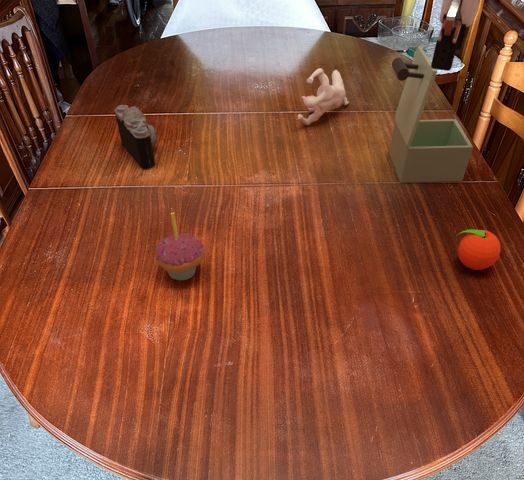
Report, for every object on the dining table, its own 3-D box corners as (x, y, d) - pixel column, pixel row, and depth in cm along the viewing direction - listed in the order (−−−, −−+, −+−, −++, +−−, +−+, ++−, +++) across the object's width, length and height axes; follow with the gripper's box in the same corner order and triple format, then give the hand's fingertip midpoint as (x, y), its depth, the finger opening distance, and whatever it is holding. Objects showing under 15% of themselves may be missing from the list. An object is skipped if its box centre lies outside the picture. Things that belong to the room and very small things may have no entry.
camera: (170, 163, 116) (163, 119, 108) (142, 171, 114) (133, 127, 106) (145, 136, 124) (137, 94, 117) (119, 143, 122) (109, 101, 114)
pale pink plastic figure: (311, 54, 130) (309, 68, 116) (359, 68, 131) (362, 84, 117) (297, 107, 138) (294, 126, 124) (342, 120, 139) (343, 140, 125)
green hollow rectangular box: (446, 152, 118) (456, 119, 112) (462, 181, 110) (473, 147, 104) (388, 153, 118) (395, 120, 112) (400, 182, 110) (407, 148, 104)
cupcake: (155, 262, 93) (143, 205, 84) (200, 253, 94) (193, 196, 85) (164, 292, 87) (152, 235, 78) (211, 282, 89) (205, 225, 80)
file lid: (421, 46, 101) (392, 42, 100) (437, 71, 93) (406, 67, 92) (397, 118, 112) (371, 115, 111) (410, 146, 104) (382, 143, 103)
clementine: (441, 266, 92) (452, 234, 86) (455, 246, 95) (466, 214, 90) (485, 283, 89) (500, 250, 83) (497, 261, 92) (512, 229, 87)
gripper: (498, -57, 66) (460, 81, 79) (511, -81, 77) (476, 44, 90) (440, -62, 68) (412, 74, 81) (461, -85, 79) (433, 38, 92)
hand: (446, 58), depth 85 cm, fingers open, 9 cm apart
